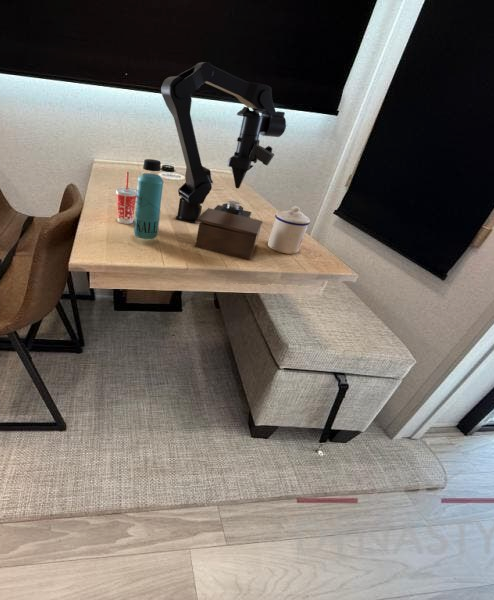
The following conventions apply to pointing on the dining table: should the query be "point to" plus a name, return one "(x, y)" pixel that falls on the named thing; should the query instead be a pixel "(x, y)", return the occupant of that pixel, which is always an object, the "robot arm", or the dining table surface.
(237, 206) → the push lid
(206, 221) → the lid
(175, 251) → the dining table surface
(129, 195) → the beverage cup
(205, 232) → the box
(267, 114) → the robot arm
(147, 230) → the beverage bottle
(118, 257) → the dining table surface
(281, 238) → the teacup with lid
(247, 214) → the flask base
